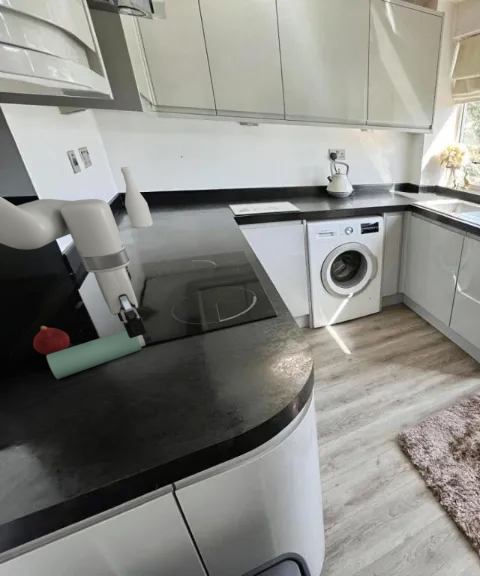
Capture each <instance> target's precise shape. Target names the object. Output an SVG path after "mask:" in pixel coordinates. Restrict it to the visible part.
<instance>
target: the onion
mask: <svg viewBox="0 0 480 576" xmlns="http://www.w3.org/2000/svg"><path fill="white" fill-rule="evenodd" d="M70 342H71V341H70V336H69V335H68V333H66V332H65V331H63V330H61V329H58V328H55V327H48V326H45V325H41V326H40V331H39V332H38V333H36V335H35V336H34V338H33V342H32V343H33V344H32V345H33V348H34V350H35V351H36V352H37V353H39V354H42V355H46V356H47V355H48V354H52V353H55V352H58V351H61V350H64V349H67V348H69V346H70Z"/></svg>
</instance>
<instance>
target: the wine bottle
mask: <svg viewBox="0 0 480 576" xmlns="http://www.w3.org/2000/svg"><path fill="white" fill-rule="evenodd" d="M120 171H121V173H122V176H123V180H124V183H125V197H124V206H125V209H126V212H127V215H128V218H129V221H130V225H131V226H132V228H136V229H144V228H149V227H153V225H154V221H153V218H152V214H151V212H150V208H149V205H148V202H147V200H146V199H145V198H144V196H143V195H142V194H141V192H140V191H139V190H138V188H137V186H136V185H135V183H134V179H133V177H132V176H133V175H132V173H131V172H132V171H131V168H129V167H128V166H124V167H123V166H122V167H120Z"/></svg>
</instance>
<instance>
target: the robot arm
mask: <svg viewBox="0 0 480 576" xmlns="http://www.w3.org/2000/svg"><path fill="white" fill-rule="evenodd" d="M69 235H70V237H71V239H72V242H73V243H74V246H75V248H76V251H77V252H78V255H79V258H80V260H81V262H82V264H83V266H84V269H85V271H86V272H87V273H93V275H94V278H95V281H96V283H97V285H98V287H99V289H100V290H99V291H100V292H101V295H102V297H103V299H104V302H105V304H106V307H107V308H108V310H109V312H110V314H111V315H112V316H113V315H114V316H116V315H117V316H118V317H117V318H118V319H119V322H121V323H122V325H123V327H124V328H125V330H126V331H127V334H128V336H129V338H134V337H137V336H140V335H143V334H145V333H146V330H147V329H146V328H145V325H144V322H143V319H142V318H141V317H140V315H139V313H138V311H137V309H138V308H139V303H138V300H137V297H136V294H135V291H134V288H133V287H134V286H133V285H132V281H131V279H130V275H129V274H128V271H127V268H126V266H129V264H130V263H131V260H130V257H129V255H128V252H127V250H126V246H125V244H124V242H123V241H124V240H123V239H122V236H121V233H120V230H119V227H118V225H117V222H116V219H115V217H114V214H113V211H112V209H111V207H110V205H109V204H108V202H106V200H103V199H98V198H87V199H76V200H68V199H67V200H66V199H54V198H41V199H36V200H33V201H30V202H25V203H22V204H19V205H15V204H13V203H12V202H10V201H8V200H7V199H5V198H3V197H2V196H0V244H2V245H5V246H7V247H10V248H13V249H18V250H26V251H27V250H29V251H30V250H36V249H39V248H42V247H44V246H46V245H48V244H51V243H52V242H54V241H56V240H58V239H61V238H63V237H66V236H69Z"/></svg>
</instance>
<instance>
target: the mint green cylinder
mask: <svg viewBox="0 0 480 576" xmlns="http://www.w3.org/2000/svg"><path fill="white" fill-rule="evenodd" d="M145 330H146V333H145V334H143V335H140V336H137V337H134V338H129V336H128V334H127V331H126V329H125V330H122V331H118V332H116V333H115V332H114V333H111V334H109V335H106V336H103V337H99V338H97V339H93V340H90V341H87V342H84V343H80V344H78V345H74V346H70V347H67V348H66V349H64V350H61V351H58V352H55V353H52V354H48V355H46V360H47V363H48V366H49V368H50V370H51V373H52V374H53V376H54V378H55V379H56V380H60V379H62V378H65V377H68V376H72V375H73V374H77V373H79V372H82V371H85V370H87V369H90V368H93V367H96V366H99V365H102V364H105V363H107V362H111V361H113V360H116V359H118V358H119V359H120V358H121V357H125V356H127V355H130V354H133V353H136V352H139V351H141V350H142V347H145V346H146V343H147V342H150V341H151V340H152V338H151V336H150V333H149V331H148V330H147V329H145Z"/></svg>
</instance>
